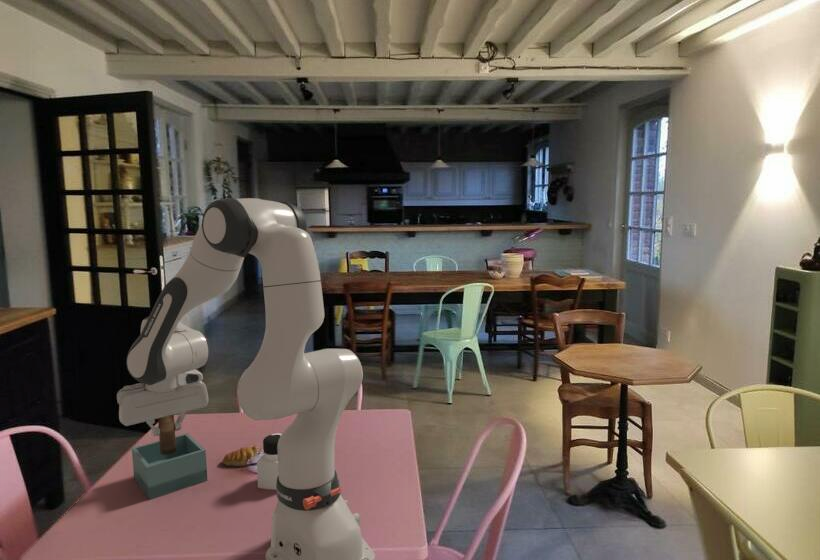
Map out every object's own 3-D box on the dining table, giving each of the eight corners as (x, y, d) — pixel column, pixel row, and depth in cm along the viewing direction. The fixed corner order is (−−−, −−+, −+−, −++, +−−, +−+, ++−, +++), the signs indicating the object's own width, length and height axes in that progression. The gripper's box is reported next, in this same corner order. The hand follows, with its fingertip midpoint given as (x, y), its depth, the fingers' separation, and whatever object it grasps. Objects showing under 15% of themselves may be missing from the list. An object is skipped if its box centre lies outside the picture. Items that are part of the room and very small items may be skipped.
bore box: (207, 480, 135) (205, 450, 134) (149, 499, 126) (146, 467, 125) (189, 461, 145) (187, 433, 144) (134, 478, 136) (131, 447, 135)
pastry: (223, 470, 140) (222, 456, 140) (223, 459, 146) (222, 446, 146) (260, 464, 143) (259, 451, 143) (258, 454, 149) (258, 440, 149)
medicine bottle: (285, 491, 129) (282, 444, 127) (257, 488, 130) (255, 441, 129) (297, 477, 136) (295, 431, 134) (270, 474, 137) (268, 429, 136)
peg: (178, 451, 134) (174, 405, 133) (162, 456, 132) (159, 409, 130) (173, 447, 137) (170, 401, 135) (158, 451, 135) (155, 405, 133)
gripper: (119, 391, 123) (124, 448, 125) (209, 373, 136) (212, 425, 138) (112, 384, 128) (117, 440, 130) (200, 367, 141) (203, 418, 143)
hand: (167, 432), depth 134 cm, fingers closed on peg, 4 cm apart
